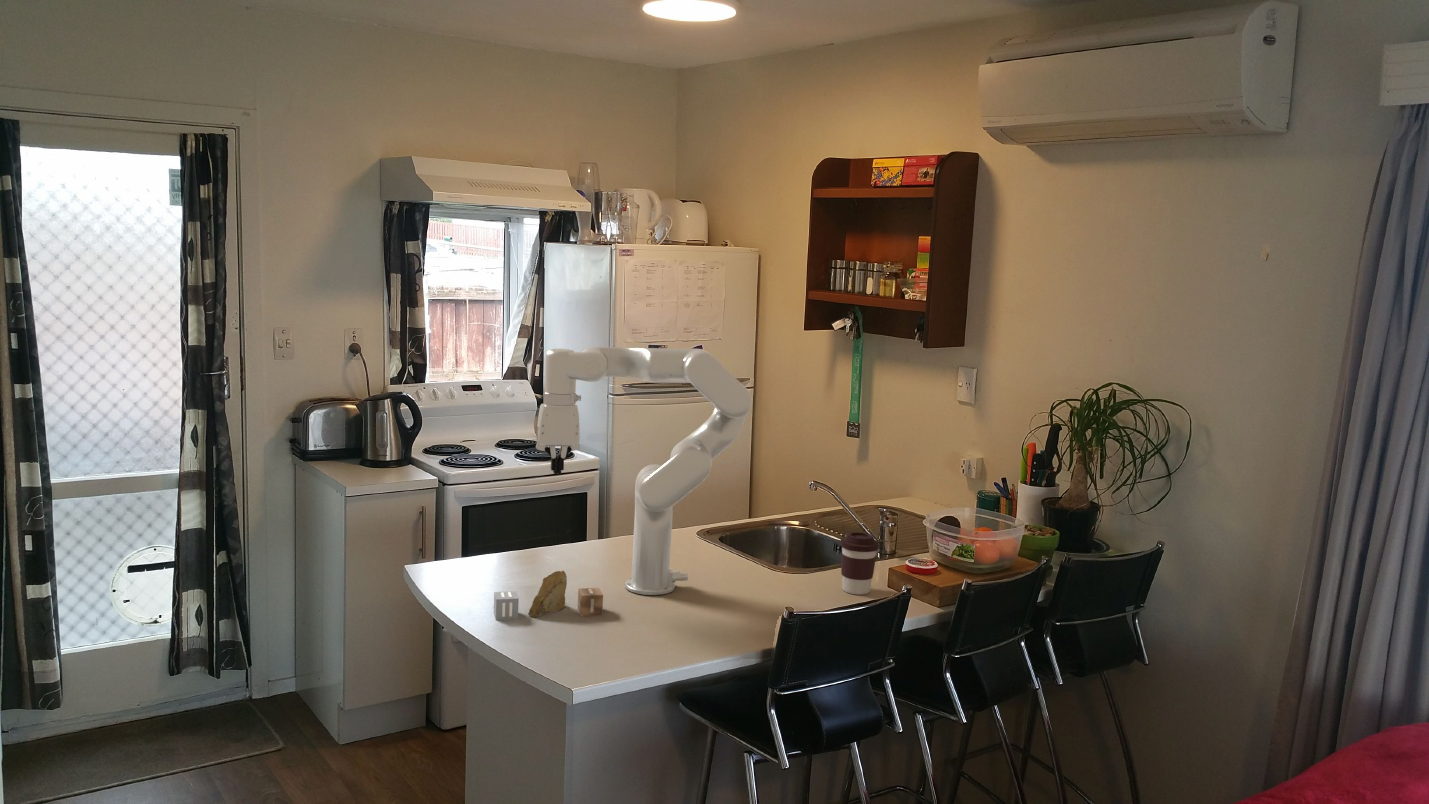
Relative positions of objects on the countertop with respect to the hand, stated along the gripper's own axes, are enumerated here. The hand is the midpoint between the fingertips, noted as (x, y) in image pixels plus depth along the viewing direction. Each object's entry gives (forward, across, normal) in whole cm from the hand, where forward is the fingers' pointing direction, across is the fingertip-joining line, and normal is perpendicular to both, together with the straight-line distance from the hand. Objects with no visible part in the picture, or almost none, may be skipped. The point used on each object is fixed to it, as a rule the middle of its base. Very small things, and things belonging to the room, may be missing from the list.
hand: (557, 473), depth 256 cm
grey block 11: (+29, +14, +19) cm, 37 cm away
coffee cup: (+29, -77, +13) cm, 83 cm away
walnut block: (+29, -6, +19) cm, 35 cm away
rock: (+29, +4, +17) cm, 34 cm away
